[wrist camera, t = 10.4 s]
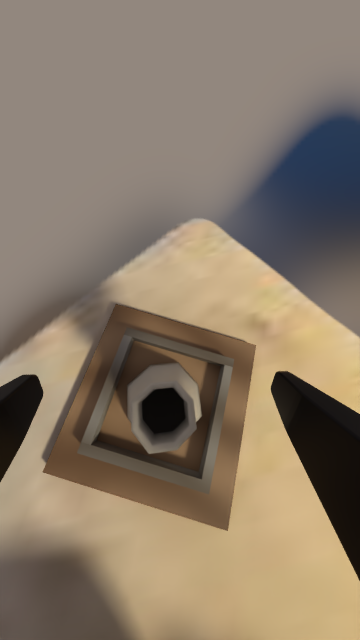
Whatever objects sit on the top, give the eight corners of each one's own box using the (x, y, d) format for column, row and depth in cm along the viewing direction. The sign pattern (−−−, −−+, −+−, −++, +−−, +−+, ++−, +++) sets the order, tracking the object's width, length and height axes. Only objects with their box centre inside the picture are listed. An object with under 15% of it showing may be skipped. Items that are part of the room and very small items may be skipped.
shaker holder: (224, 522, 17) (233, 545, 14) (49, 467, 17) (30, 480, 15) (252, 347, 22) (262, 342, 20) (118, 307, 22) (112, 298, 20)
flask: (141, 459, 17) (112, 551, 8) (115, 380, 19) (66, 374, 9) (214, 420, 18) (266, 457, 9) (182, 351, 20) (198, 320, 11)
